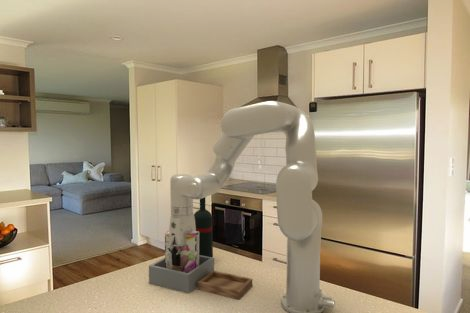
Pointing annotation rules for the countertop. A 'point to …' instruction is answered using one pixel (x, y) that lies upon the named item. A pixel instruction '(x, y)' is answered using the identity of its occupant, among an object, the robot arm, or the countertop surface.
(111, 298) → the countertop surface
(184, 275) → the deep bin
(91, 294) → the countertop surface
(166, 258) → the candy bar box
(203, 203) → the wine bottle
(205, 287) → the walnut tray
